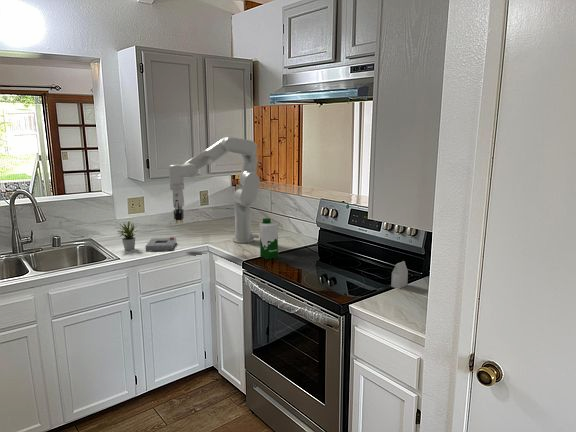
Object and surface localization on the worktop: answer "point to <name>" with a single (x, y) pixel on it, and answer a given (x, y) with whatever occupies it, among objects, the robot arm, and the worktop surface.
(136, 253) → the worktop surface
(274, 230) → the milk carton
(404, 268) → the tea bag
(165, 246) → the socket plate
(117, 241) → the worktop surface
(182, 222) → the plug
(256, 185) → the robot arm
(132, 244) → the house plant
